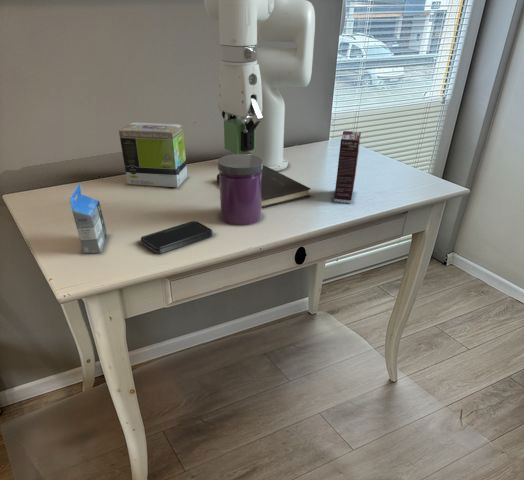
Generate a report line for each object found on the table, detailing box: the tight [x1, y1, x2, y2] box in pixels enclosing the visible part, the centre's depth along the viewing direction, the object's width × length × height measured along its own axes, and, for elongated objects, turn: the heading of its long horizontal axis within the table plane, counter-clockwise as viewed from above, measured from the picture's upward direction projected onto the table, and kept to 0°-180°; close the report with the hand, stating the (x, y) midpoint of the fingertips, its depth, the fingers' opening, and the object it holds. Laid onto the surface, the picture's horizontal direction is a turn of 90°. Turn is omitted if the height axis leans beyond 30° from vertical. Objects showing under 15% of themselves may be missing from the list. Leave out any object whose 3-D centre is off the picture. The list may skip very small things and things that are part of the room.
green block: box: [223, 117, 255, 154], centre depth 111 cm, size 5×5×6 cm
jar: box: [217, 153, 263, 226], centre depth 118 cm, size 10×10×14 cm
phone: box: [140, 220, 213, 254], centre depth 112 cm, size 8×1×15 cm
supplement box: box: [333, 130, 362, 204], centre depth 129 cm, size 9×5×16 cm, turn 168°
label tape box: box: [69, 182, 108, 254], centre depth 106 cm, size 9×4×12 cm, turn 5°
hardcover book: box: [216, 165, 311, 209], centre depth 137 cm, size 16×23×2 cm
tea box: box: [118, 121, 188, 188], centre depth 137 cm, size 15×10×15 cm, turn 80°
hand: (240, 146), depth 112 cm, fingers closed on green block, 5 cm apart
